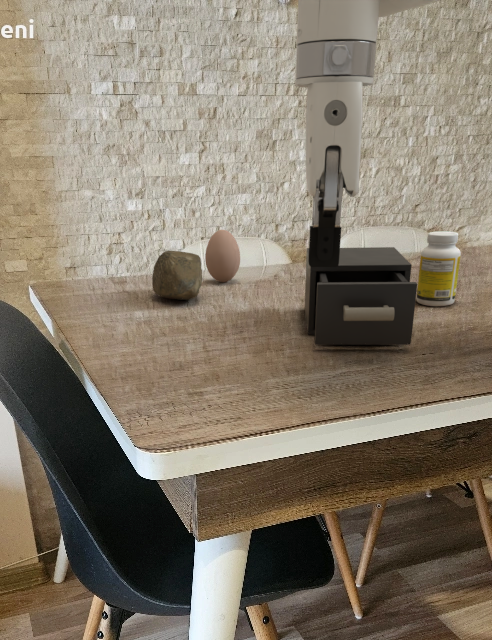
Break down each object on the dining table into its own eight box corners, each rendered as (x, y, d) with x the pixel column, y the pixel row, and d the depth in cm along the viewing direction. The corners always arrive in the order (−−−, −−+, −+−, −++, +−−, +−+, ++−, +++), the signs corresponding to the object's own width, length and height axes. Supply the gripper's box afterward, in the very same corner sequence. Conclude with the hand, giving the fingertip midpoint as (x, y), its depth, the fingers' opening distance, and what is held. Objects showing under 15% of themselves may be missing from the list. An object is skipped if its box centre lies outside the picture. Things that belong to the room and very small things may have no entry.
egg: (224, 277, 135) (223, 226, 131) (247, 281, 131) (247, 229, 126) (198, 282, 131) (197, 230, 127) (221, 287, 127) (220, 233, 122)
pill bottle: (431, 297, 115) (439, 229, 110) (462, 303, 110) (472, 232, 105) (407, 302, 112) (415, 233, 107) (438, 309, 107) (447, 236, 102)
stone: (217, 305, 113) (216, 256, 110) (167, 310, 111) (164, 260, 107) (187, 286, 127) (185, 243, 124) (142, 291, 125) (139, 246, 121)
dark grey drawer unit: (404, 334, 94) (411, 264, 90) (307, 334, 95) (310, 265, 91) (388, 309, 108) (394, 247, 104) (304, 309, 109) (306, 248, 105)
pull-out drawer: (416, 354, 83) (424, 290, 79) (316, 354, 84) (319, 291, 80) (393, 317, 99) (399, 263, 96) (310, 317, 100) (312, 264, 97)
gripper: (385, 59, 57) (365, 279, 65) (365, 74, 70) (351, 255, 79) (297, 61, 58) (289, 278, 66) (294, 75, 71) (288, 255, 79)
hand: (323, 265), depth 72 cm, fingers closed
